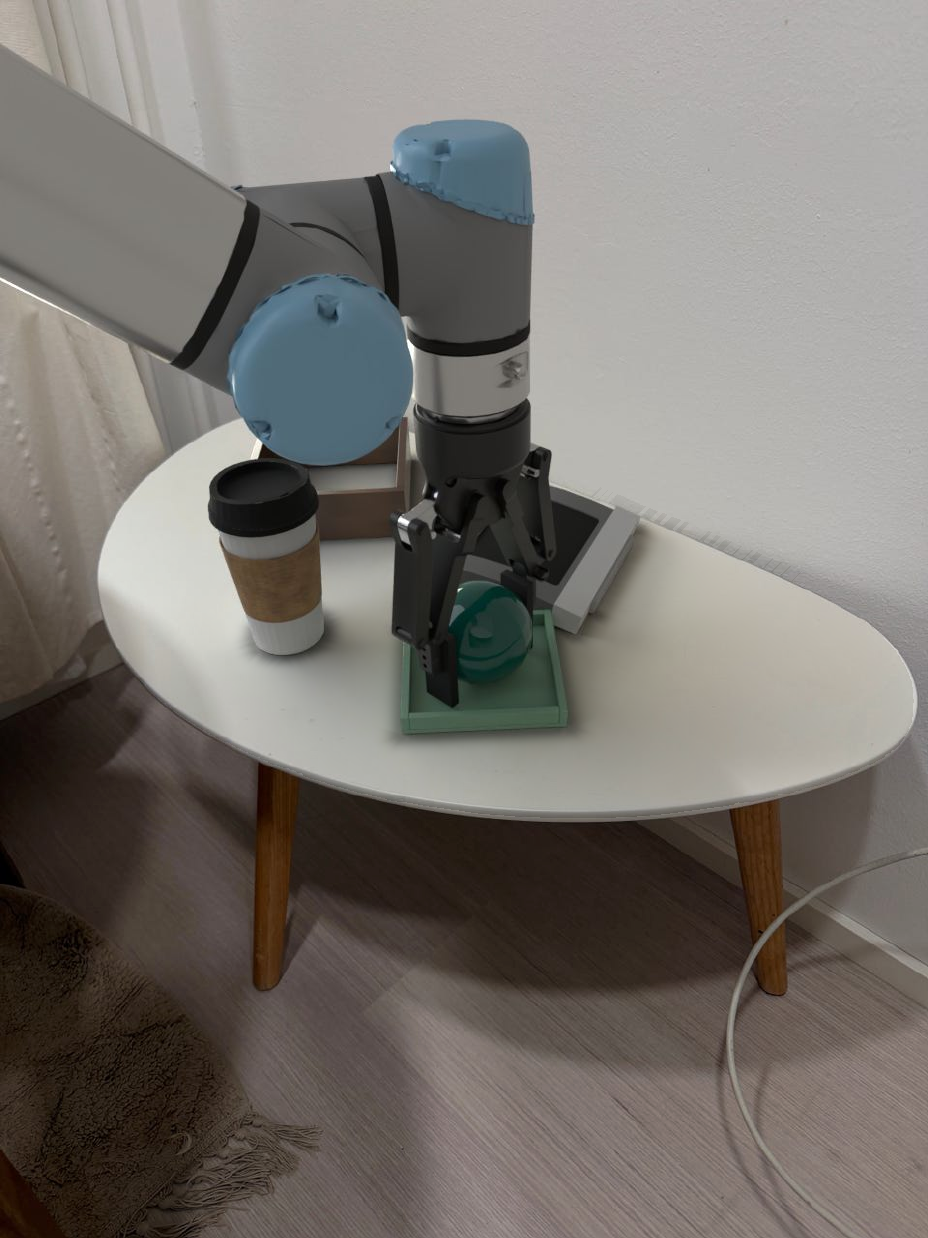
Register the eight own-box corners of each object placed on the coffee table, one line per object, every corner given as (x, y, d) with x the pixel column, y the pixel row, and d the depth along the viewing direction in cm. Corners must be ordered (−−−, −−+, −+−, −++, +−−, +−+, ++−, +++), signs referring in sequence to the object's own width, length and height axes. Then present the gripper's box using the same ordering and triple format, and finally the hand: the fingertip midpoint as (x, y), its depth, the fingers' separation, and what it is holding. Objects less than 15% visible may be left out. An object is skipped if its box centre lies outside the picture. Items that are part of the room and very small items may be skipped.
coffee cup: (273, 680, 73) (237, 519, 64) (220, 631, 78) (180, 476, 69) (358, 634, 77) (337, 477, 68) (303, 591, 82) (276, 439, 73)
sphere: (410, 668, 73) (402, 587, 68) (487, 626, 77) (485, 547, 72) (474, 722, 68) (471, 638, 63) (553, 674, 72) (556, 592, 67)
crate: (247, 543, 89) (237, 498, 86) (269, 465, 101) (261, 423, 98) (408, 535, 89) (404, 490, 86) (411, 458, 101) (407, 416, 98)
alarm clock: (486, 465, 91) (646, 491, 86) (488, 506, 94) (643, 534, 88) (406, 553, 79) (587, 590, 73) (411, 597, 82) (586, 636, 76)
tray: (402, 734, 68) (400, 718, 67) (405, 630, 77) (404, 615, 76) (567, 726, 68) (567, 711, 67) (550, 623, 77) (550, 609, 76)
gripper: (392, 481, 50) (420, 766, 64) (617, 361, 62) (599, 626, 76) (306, 440, 55) (350, 717, 69) (531, 336, 66) (529, 591, 80)
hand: (481, 669), depth 72 cm, fingers closed on sphere, 8 cm apart
